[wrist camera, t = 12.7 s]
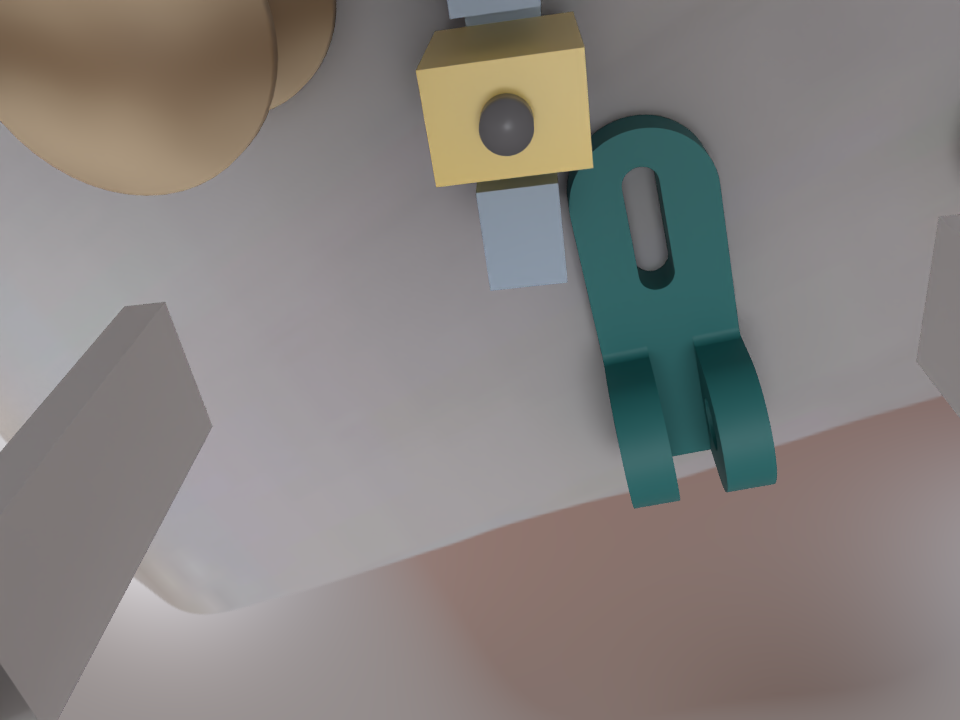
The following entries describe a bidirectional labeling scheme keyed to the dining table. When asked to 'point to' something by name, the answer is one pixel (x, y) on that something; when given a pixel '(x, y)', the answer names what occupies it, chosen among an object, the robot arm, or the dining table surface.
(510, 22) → the yellow block
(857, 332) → the dining table surface
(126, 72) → the bobbin
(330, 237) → the dining table surface
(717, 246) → the bracket
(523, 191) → the notch board
